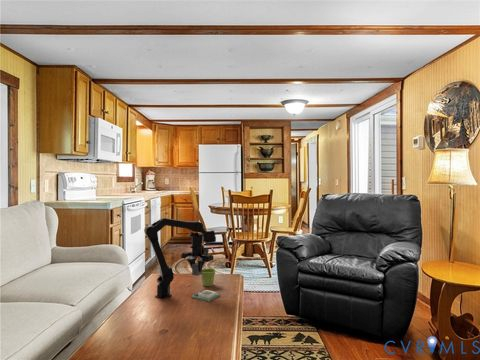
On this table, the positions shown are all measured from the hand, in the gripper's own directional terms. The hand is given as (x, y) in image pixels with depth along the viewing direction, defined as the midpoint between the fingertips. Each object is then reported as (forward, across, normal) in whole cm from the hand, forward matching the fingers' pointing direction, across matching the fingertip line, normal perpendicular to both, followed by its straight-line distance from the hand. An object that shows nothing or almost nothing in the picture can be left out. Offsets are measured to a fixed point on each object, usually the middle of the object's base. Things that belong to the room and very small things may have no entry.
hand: (197, 271), depth 195 cm
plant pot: (+11, +2, -13) cm, 17 cm away
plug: (+1, 0, 0) cm, 1 cm away
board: (+11, -9, +4) cm, 15 cm away
